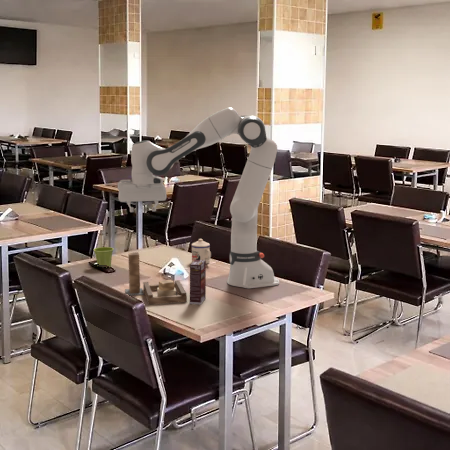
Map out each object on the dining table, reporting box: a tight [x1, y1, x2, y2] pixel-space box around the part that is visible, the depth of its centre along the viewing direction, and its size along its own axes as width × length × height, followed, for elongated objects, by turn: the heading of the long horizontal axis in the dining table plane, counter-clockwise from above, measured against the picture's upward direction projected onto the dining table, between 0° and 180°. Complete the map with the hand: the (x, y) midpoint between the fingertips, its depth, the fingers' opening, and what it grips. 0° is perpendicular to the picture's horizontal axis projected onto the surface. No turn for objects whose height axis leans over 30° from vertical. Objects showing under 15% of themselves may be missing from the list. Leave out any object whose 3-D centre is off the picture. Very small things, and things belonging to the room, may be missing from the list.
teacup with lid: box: [191, 238, 212, 265], centre depth 320 cm, size 12×9×12 cm
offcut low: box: [156, 287, 177, 296], centre depth 264 cm, size 7×5×4 cm
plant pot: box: [93, 246, 114, 268], centre depth 312 cm, size 9×9×9 cm
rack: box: [142, 279, 188, 305], centre depth 268 cm, size 15×20×4 cm
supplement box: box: [189, 260, 207, 305], centre depth 259 cm, size 9×5×16 cm, turn 168°
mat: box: [124, 287, 145, 296], centre depth 272 cm, size 7×8×1 cm
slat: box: [127, 251, 141, 293], centre depth 271 cm, size 4×4×16 cm
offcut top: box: [158, 279, 175, 291], centre depth 264 cm, size 5×4×3 cm
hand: (142, 211), depth 282 cm, fingers open, 8 cm apart
